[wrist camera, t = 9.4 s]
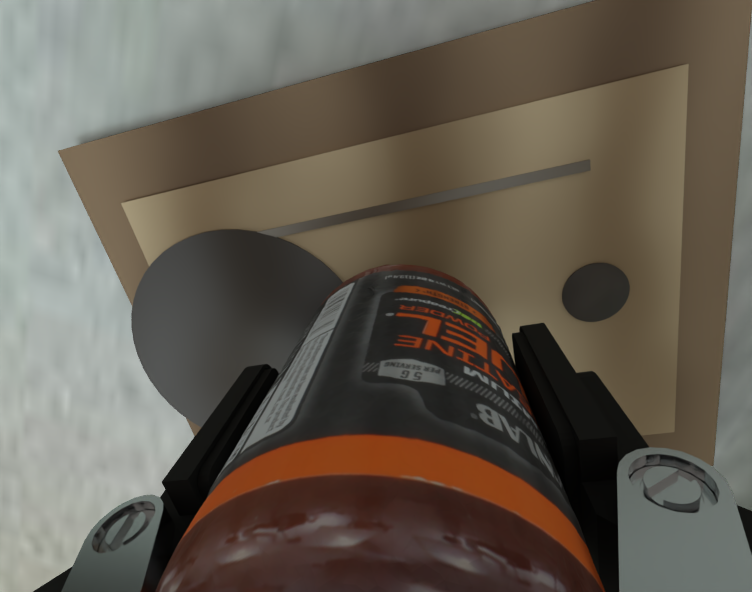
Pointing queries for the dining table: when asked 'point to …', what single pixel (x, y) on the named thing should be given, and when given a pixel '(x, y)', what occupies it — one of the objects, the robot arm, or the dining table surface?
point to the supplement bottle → (390, 461)
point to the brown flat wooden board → (454, 203)
